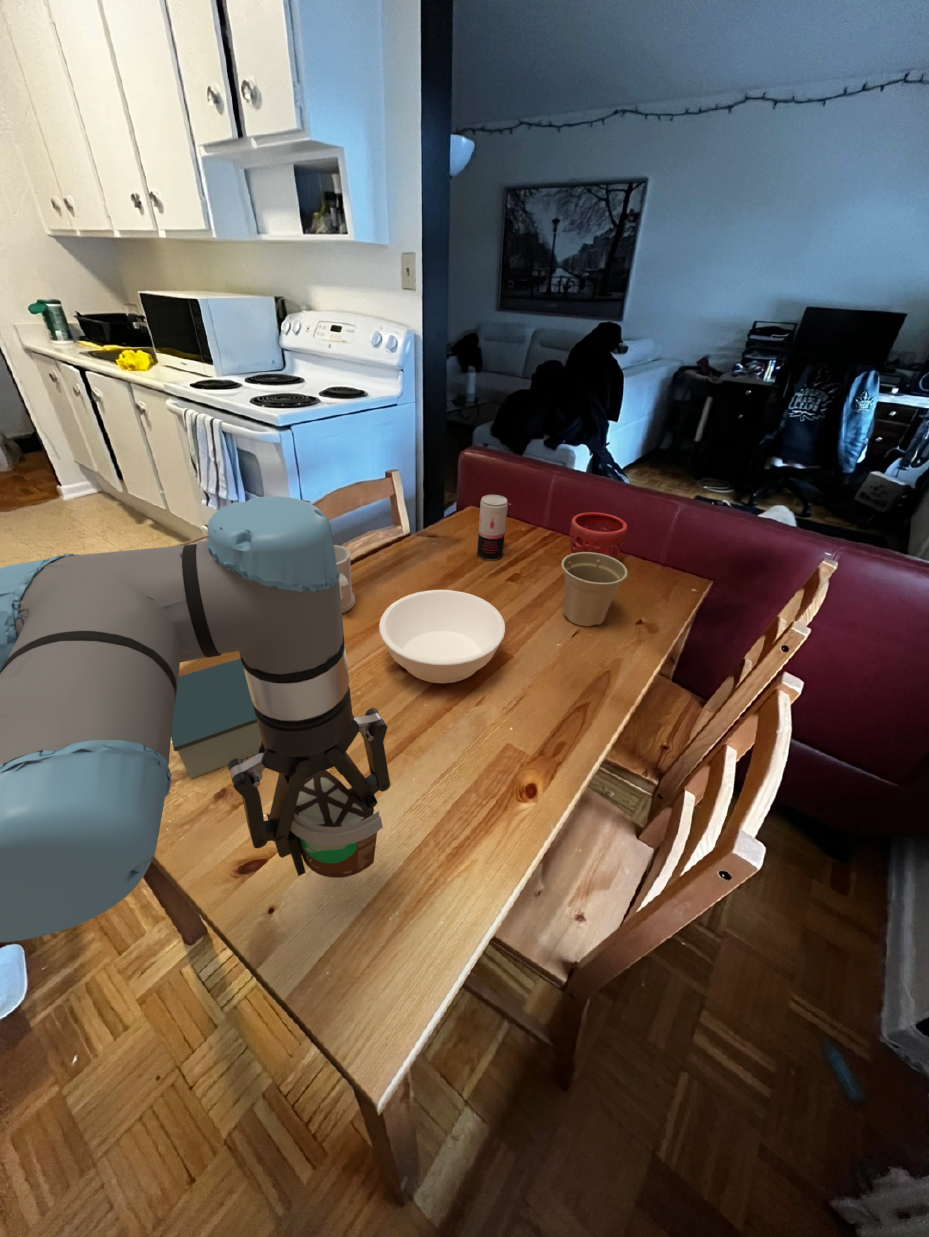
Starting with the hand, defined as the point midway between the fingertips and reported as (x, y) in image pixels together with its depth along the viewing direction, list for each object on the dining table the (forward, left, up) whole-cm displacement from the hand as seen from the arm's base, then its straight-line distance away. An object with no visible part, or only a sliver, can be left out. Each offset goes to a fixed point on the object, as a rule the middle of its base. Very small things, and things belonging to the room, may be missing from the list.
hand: (330, 847), depth 53 cm
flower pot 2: (+65, +29, -9) cm, 72 cm away
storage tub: (-5, +32, -9) cm, 34 cm away
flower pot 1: (+82, +45, -9) cm, 94 cm away
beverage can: (+62, +61, -9) cm, 88 cm away
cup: (+20, +57, -9) cm, 61 cm away
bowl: (+31, +31, -9) cm, 45 cm away
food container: (-1, 0, -1) cm, 1 cm away
